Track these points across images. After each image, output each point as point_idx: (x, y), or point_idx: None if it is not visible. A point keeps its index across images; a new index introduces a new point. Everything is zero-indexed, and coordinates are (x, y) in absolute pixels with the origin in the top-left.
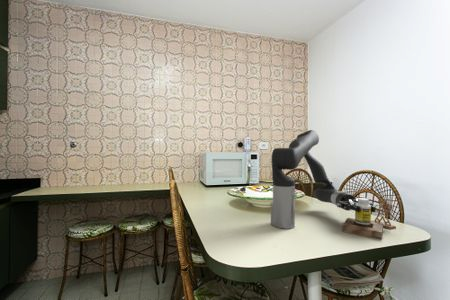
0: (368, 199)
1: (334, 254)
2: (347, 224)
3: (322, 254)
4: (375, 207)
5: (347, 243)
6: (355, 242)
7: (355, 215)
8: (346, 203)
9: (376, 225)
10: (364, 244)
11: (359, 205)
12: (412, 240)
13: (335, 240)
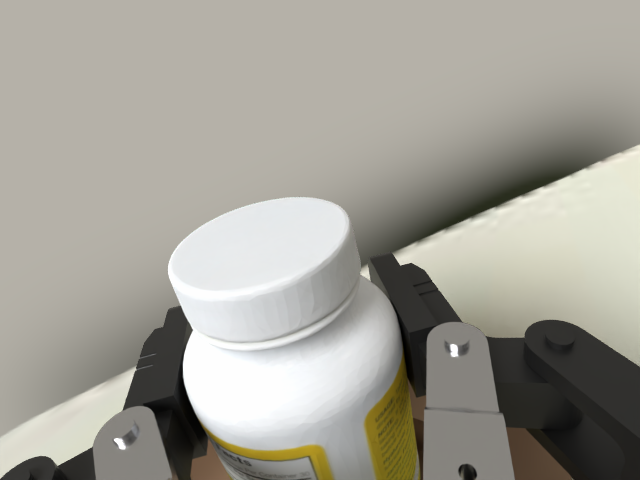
0: (195, 231)
1: (561, 180)
2: (521, 429)
3: (603, 170)
4: (152, 332)
5: (515, 258)
6: (472, 277)
7: (415, 442)
8: (571, 333)
9: (219, 473)
10: (430, 270)
11: (362, 277)
12: (125, 384)
13: (585, 270)
